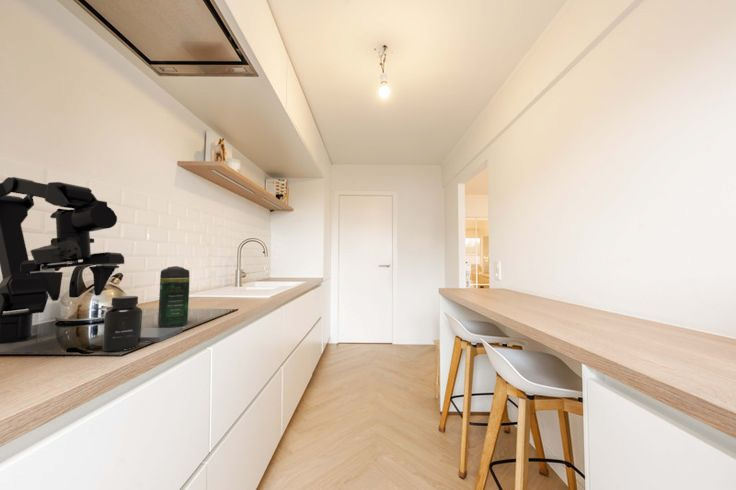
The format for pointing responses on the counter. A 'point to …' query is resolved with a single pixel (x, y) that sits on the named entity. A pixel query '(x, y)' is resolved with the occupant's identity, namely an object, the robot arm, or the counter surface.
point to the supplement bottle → (122, 324)
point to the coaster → (158, 334)
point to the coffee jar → (173, 297)
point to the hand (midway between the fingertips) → (76, 298)
